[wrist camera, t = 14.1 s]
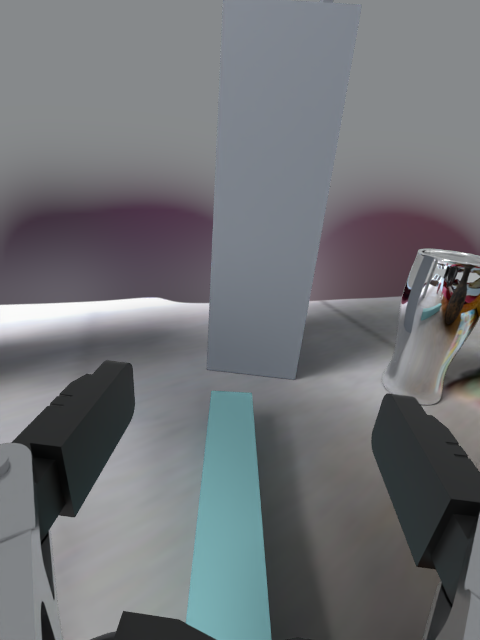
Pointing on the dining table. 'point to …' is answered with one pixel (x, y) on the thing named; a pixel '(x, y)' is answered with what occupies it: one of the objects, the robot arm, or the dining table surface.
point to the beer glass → (433, 322)
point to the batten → (229, 529)
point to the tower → (273, 174)
